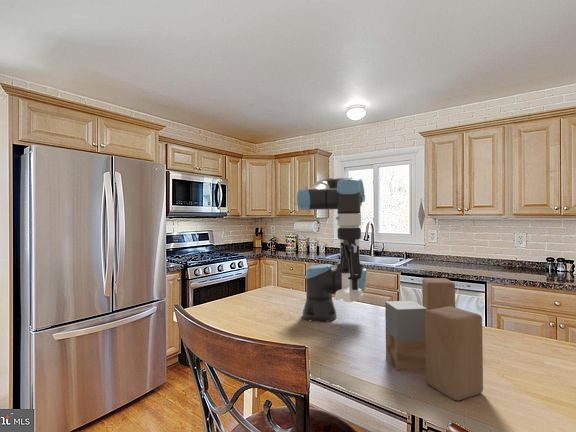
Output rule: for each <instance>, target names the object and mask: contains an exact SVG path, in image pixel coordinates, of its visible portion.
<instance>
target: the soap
mask: <svg viewBox="0 0 576 432" xmlns="http://www.w3.org/2000/svg"><path fill="white" fill-rule="evenodd" d="M333 297H334V299H333V300H336V301H340V300H343V302H346V303H354V302H356V301H358V300H350V299H349V287H347V288H343V289H340V290H338V291H336V294H334V296H333ZM364 297H365V296H364V293H363V294H362V290H361V289H359V300H362V299H364Z"/></svg>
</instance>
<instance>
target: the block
mask: <svg viewBox="0 0 576 432" xmlns="http://www.w3.org/2000/svg"><path fill="white" fill-rule="evenodd" d="M483 347H484V346H483V316H482V315H481V314H478V313H476V312H473V311H469V310H465V309H461V308H459V307H456V306H455V307H452V306H449V307H442V308H436V309H430V310H426V312H425V355H426V370H425V382H426V384H427V385H428V386H430V387H432V388H433V389H435V390H437V391H439V392H440V393H442V394H444V395H445V396H447V397H449V398H450V399H452V400H455V401H458V402H459V401H461V400H464V399H468V398H470V397H474V396H477V395H480V394H482V393H483V391H484V367H483V366H484V363H483V361H484V360H483V359H484V357H483V355H484V354H483V350H484V349H483Z"/></svg>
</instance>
